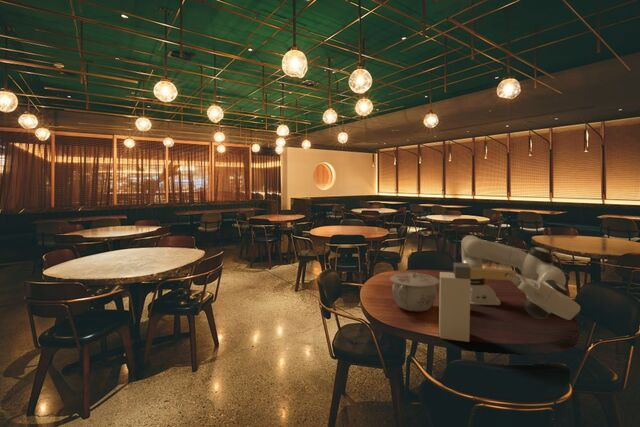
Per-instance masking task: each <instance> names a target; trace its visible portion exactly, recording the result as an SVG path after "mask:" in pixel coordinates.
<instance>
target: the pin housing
mask: <svg viewBox="0 0 640 427" xmlns="http://www.w3.org/2000/svg"><path fill="white" fill-rule="evenodd" d="M452 269H453V272H450V271H449V272H447V271H445V272H444V271H440V272H439V281H440V282H439V293H438V294H439V298H438V299H439V301H438V303H439V304H438V306H439V309H438V331H439V338H440V339H445V340H451V341H458V342H459V341H460V342H468V343H469V342H470V332H471V331H470V329H471V328H470V327H471V326H470V323H471V322H470V321H471V320H470V319H471V303H470V266H469V265H468V263H462V262H453V268H452Z"/></svg>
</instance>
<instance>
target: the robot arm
mask: <svg viewBox="0 0 640 427" xmlns="http://www.w3.org/2000/svg"><path fill="white" fill-rule="evenodd" d="M460 244H461V252H460V253H461V263H468V265H469V266H470V268H483V261H482V260H488V261H493V262H496V263H498V264H503V265H507V266H510V267H515V268H517V269H519V270H516V278H515V277H513V276H511V275H509V274H507V275H506V278H507V279H509V280H508V281H511V282H512V284H514V286H515V287H517V288H518V289H519V291H521V292H523V293H524V294H525V297H526V300H525V301H523V306H524V309H525V311H526V312H527V314H528V315H530V316H531V317H533V318H535V319H547V318H548V317H549V316H550V314H554V315H556V316H558V317H559V318H563V319H565V320H568V321H569V320H573V319H574V318H576V316H578V314H580V312H581V305H579V304H578V303H577V302H576V301H574V299H572V298H570V297H569V292H568V289H567V287H566V286H565V285H566V282H567V279H566V275H565V273H564V271H562V269H560V268H559V267H557V266H554V265H553V263H554V262H555V260H554V259H553V255H552V253H551V252H550V251H548V250H547V249H546V248H543V247H537V246H534V247H530V249H529V250H528V252H526V251H523V250H521V249H519V248H516V247H513V246H510V245H506V244H503V243H498V242H494V241H489V240H485V239H481V238H479V237H477V236H475V235H473V234H472V235H466V236H465V237H463V238H462V240H461V242H460ZM488 282H489V281H488V279H485V278H470V291H471V293H470V305H471V304H472V305H479V306H481V305H483V306H486V305H487V306H500V305H501V300H500V299H499V298H498V297H497V295H496V292H495V290H494V289H493V288H491V287H490V286H489V285H487V284H488Z"/></svg>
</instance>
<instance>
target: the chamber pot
mask: <svg viewBox="0 0 640 427" xmlns="http://www.w3.org/2000/svg"><path fill="white" fill-rule="evenodd" d="M389 280H390V281H391V282H392V283H393V284H392V286H391V288H392V291H391V292H392V296H393V300H394V302H396V304H397V305H398V307H400V308H401V309H403V310H406V311H409V312H413V311H414V313H416V312H417V313H419V312H425V311H428V310H430V309H431V308H432V306H433V305H434V303H435V302H436V299H437V295H438V292H437V291H438V289H437V287H436V286H437V285H440V279H439V278H437V277H435V276H432V275H429V274H426V273H425V274H424V273H418V272H416V271H414V272H403V273H402V272H401V273H396V274H392V275H391V276H389Z"/></svg>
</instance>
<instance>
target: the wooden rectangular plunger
mask: <svg viewBox="0 0 640 427" xmlns="http://www.w3.org/2000/svg"><path fill="white" fill-rule="evenodd" d="M516 273H517V271H516V270H514V269H497V268H496V269H495V268H483V267H482V268H470V278H484V279H486V280H501V281H503V280H504V281H510V280H509V279H507V278H506V275H507V274H509V275H511V276H513V277H515V278H516Z"/></svg>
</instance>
